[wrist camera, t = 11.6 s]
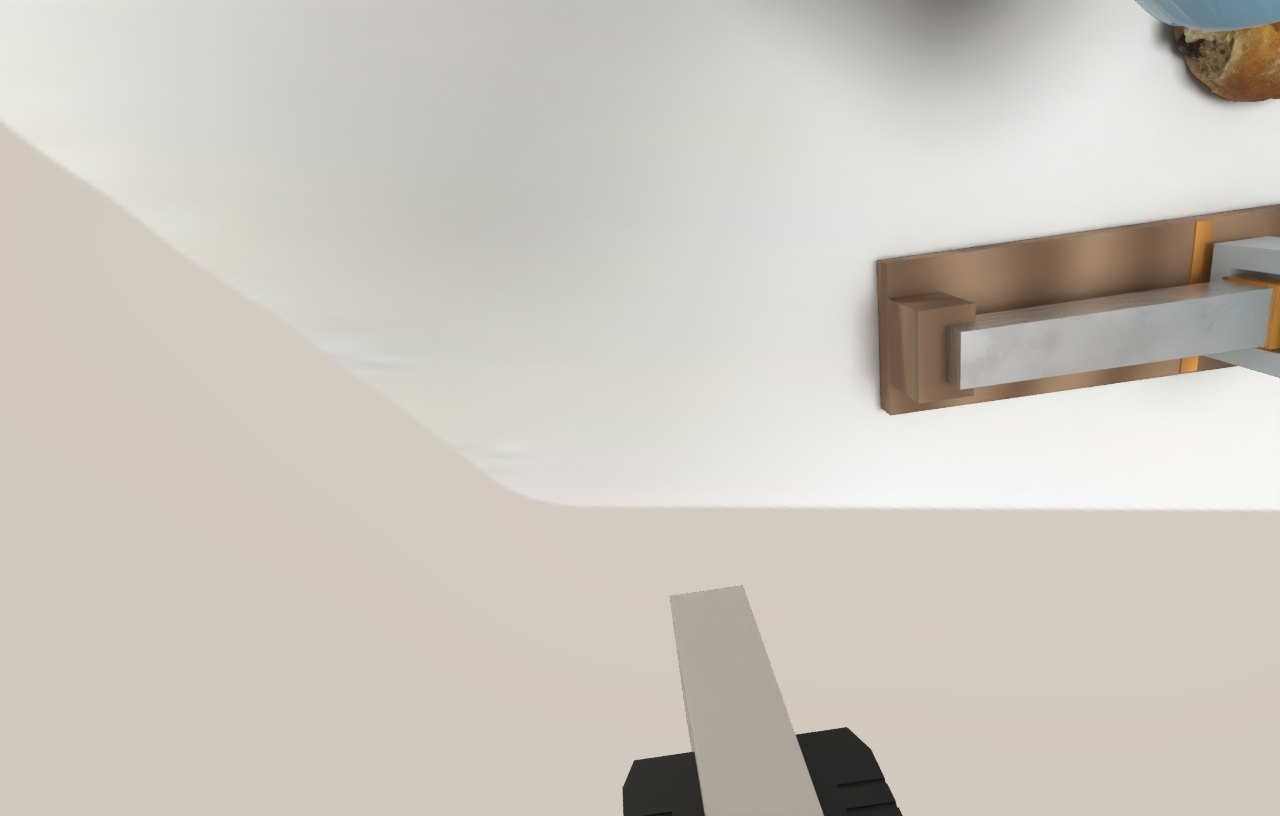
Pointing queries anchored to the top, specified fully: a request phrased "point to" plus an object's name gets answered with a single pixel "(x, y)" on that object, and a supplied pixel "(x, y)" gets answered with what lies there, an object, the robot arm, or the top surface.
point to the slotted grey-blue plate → (1253, 260)
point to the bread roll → (1234, 60)
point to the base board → (1038, 298)
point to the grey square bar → (1115, 331)
